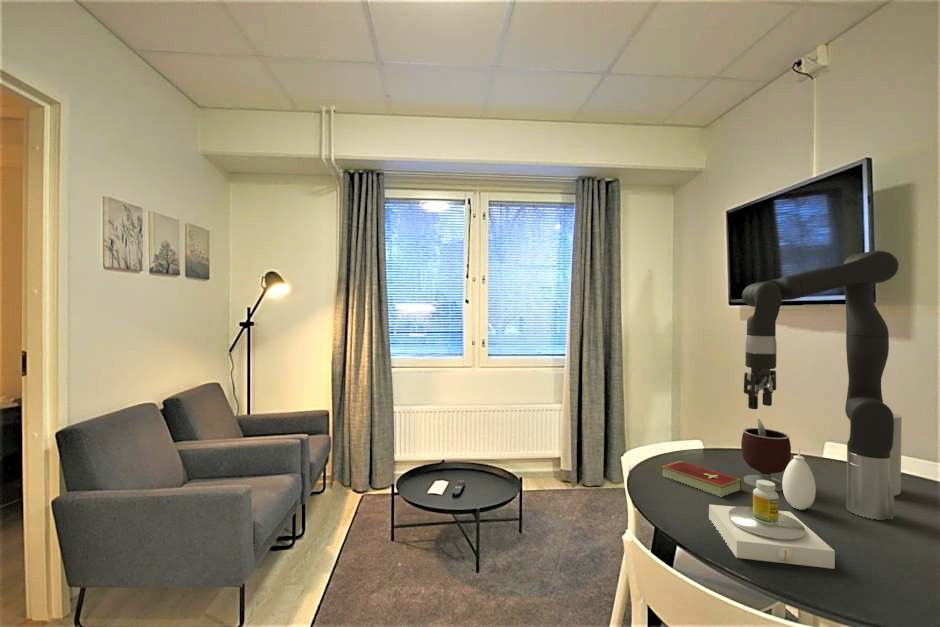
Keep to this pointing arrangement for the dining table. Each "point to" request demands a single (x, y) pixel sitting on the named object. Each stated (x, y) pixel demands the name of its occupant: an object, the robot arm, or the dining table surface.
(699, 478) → the hardcover book
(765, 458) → the mate gourd
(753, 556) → the scale base
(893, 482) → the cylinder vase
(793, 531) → the scale pan
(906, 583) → the dining table surface
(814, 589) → the dining table surface
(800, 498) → the white rubber air blower
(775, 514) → the supplement bottle
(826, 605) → the dining table surface
